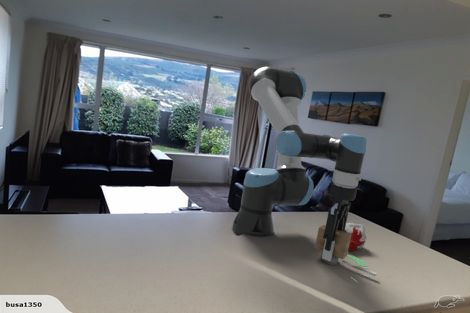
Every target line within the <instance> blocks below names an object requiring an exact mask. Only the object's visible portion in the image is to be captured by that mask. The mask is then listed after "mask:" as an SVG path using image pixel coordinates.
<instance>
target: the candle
mask: <svg viewBox="0 0 470 313" xmlns="http://www.w3.org/2000/svg"><path fill="white" fill-rule="evenodd" d="M345 232H346V233H349V234H352V235H351V239H350V244H349V249H348V251H354V250H355V251H356V249H358V250H361V249H362V248H363V247H364V246H365V245H366V242H367V241H366V240H367V234H366V228H365V226H364V225H363V224H361V223H358V224H357V223H353V222H346V227H345Z"/></svg>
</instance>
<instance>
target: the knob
mask: <svg viewBox="0 0 470 313" xmlns="http://www.w3.org/2000/svg"><path fill="white" fill-rule="evenodd" d="M325 227H326V224H323V225H320V226H319V227H318V229H317V234H316V235H317V236H316V241H315V245H314V249H315V250H318V251H320V252H321V254H320V261H321V262H322V263H324V264H326V265H329V266H337V265H338V262H339V259H340V260H341V263H342V264H343V265H345V266H348V267H351V268H353V269H356V270H357V271H362V272H364V273H366V274H368V275H371V276H373V277H376V276H377V273H378V272H375V271H372V270H370V269H366V268H362V267H363V266H359V265H358V264H355V263H352V262H349V261H346V260H345V258H346V257H347V255H348V253H349V250H348V249H349V244H350V239H351V235H352V234H349V233H346V232H343V231H340V230H337V231H336V235H335V238H334V241H335V244H334V249H333V254H332V259H331V261H328V260H325V259H323V258H322V254H323V249H324V244H325V238H323V236H324V232H325Z"/></svg>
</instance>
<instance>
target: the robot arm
mask: <svg viewBox="0 0 470 313" xmlns="http://www.w3.org/2000/svg"><path fill="white" fill-rule="evenodd" d="M248 91H249V93H250V96H251V97H252V99H253V100H255V101H256V102H257V103H258V104H259V106H260V107H261V110H262V111H263V113H264V114H265V116H266V118H267V120H268V121H269V122H270V125H271V127H272V128H273V130H274V132H275V133H276V140H275V141H276V142H275V146H276V150H277V156H278V167H276V168H275V169H273V168H265V167H256V168H251V169H249V170H248V171H246V173H245V176H244V180H243V188H242V195H241V200H240V208H239V211H238V213H237V215H236V216H235V217H234V220H233V223H232V228H231V230H232V231H233V232H234V233H235V234H237V235H238V236H242V235H246V236H251V237H257V238H263V237H264V238H265V237H270V236H272V235H273V234H274V231H275V229H274V221H273V215H272V213H273V208H274V206H292V207H295V206H304V205H306V204H307V203H308V202H309V201H310V199H311V198H312V196H313V193H314V187H315V186H314V181H313V179H312V178H311V177H310V176H309V175H307V171H306V170H307V169H306V168H305V167H304V166H303V164H302V158H309V159H310V158H311V159H321V160H328V161H331V162H334V163H335V164H334V168H333V173H332V179H331V181H332V183H331V185H330V189H329V190H330V191H329V195H330V197H332V198H334V200H333V202H332V203H331V206H329V207H328V210H327V217H326V218H327V219H326V223H325V225H326V227H325V232H324V236H323V238H325V244H324V249H323V254H322V253H321V254H322V258H323V259H325V260H328V261H331V259H332V254H333V249H334V244H335V241H334V238H335V235H336V231H337V230H340V231H343V232H345V227H346V223H348V222H347V220H348V216H349V211H350V208H351V205H352V203H351V201H354V200H356V196H357V191H358V189H357V187H358V185H359V181H362V178H361V177H360V175H361V174H362V173H361V172H362V167H363V162H364V158H365V153H366V152H367V150H366V149H367V142H368V139H367V137H366V136H363V135H360V134H359V135H358V134H353V133H345V132H344V133H342V134H341V135H340V137H336V136H332V135H328V134H314V133H308V132H304V131H303V129H302V128H301V126H300V124H299V112H298V111H299V110H298V108H299V107H298V106H300V104H302V100H304V98H305V95H306V92H307V83H306V80H305V78H304V76H303V75H302V74H301V73H298V72H295V71H293V70H284V69H282V68H277V67H272V66H263V67H259V68H257V69H256V70H255V71H254V72H253V73H252V74H251V75H250V77H249V79H248Z"/></svg>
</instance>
